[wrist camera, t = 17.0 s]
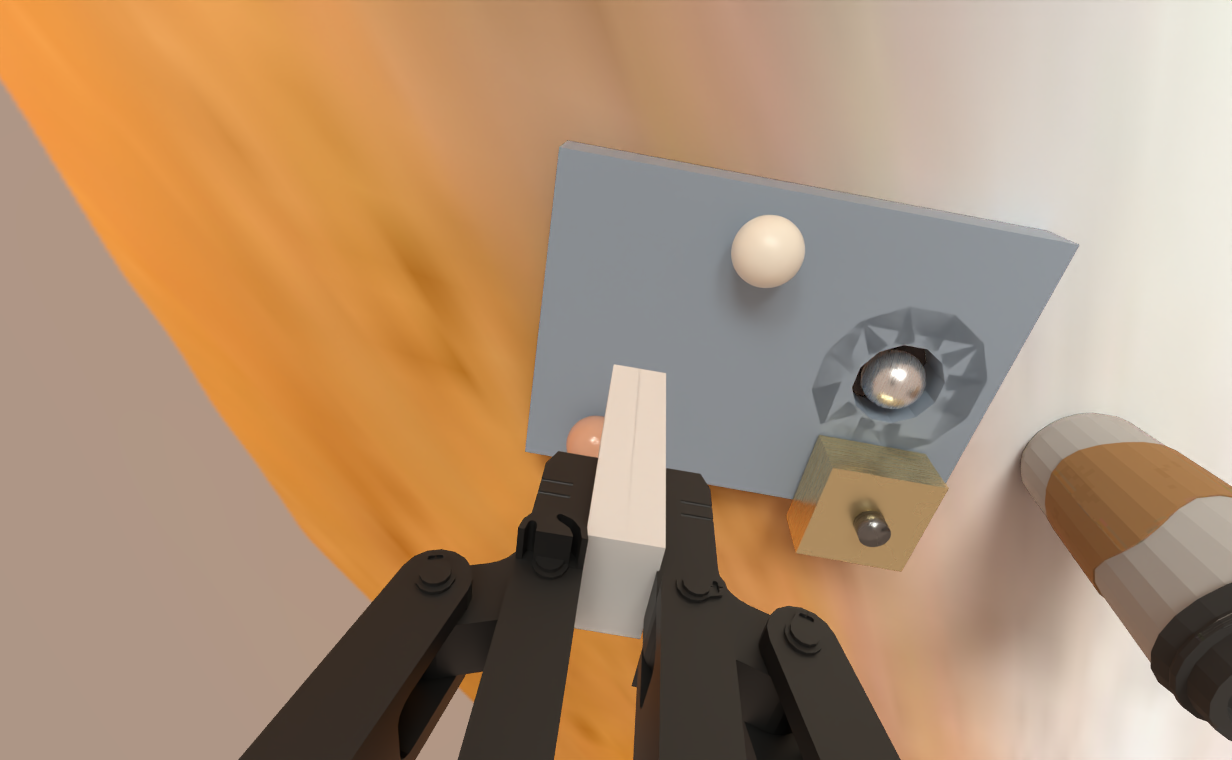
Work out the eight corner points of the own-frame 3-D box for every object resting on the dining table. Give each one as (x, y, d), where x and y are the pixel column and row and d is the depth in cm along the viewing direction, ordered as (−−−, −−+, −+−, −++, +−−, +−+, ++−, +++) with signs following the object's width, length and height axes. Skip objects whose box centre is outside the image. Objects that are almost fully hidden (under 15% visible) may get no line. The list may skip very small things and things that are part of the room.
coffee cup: (1065, 528, 37) (1283, 781, 24) (966, 470, 36) (1142, 708, 23) (1187, 436, 34) (1523, 677, 21) (1083, 368, 32) (1374, 580, 19)
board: (567, 140, 28) (559, 147, 26) (1047, 230, 29) (1079, 244, 27) (533, 428, 37) (525, 451, 34) (908, 495, 37) (923, 522, 35)
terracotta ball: (574, 400, 32) (566, 431, 30) (631, 410, 33) (628, 443, 30) (567, 446, 34) (558, 480, 31) (621, 456, 34) (617, 491, 31)
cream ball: (737, 201, 27) (746, 218, 24) (806, 214, 27) (823, 232, 24) (720, 268, 28) (726, 291, 26) (785, 280, 28) (798, 304, 26)
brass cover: (819, 434, 32) (838, 480, 29) (925, 453, 32) (957, 501, 29) (785, 516, 35) (799, 566, 32) (883, 533, 35) (908, 585, 32)
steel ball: (871, 357, 30) (937, 378, 29) (875, 332, 32) (936, 350, 31) (848, 407, 32) (910, 428, 31) (854, 379, 34) (911, 398, 33)
